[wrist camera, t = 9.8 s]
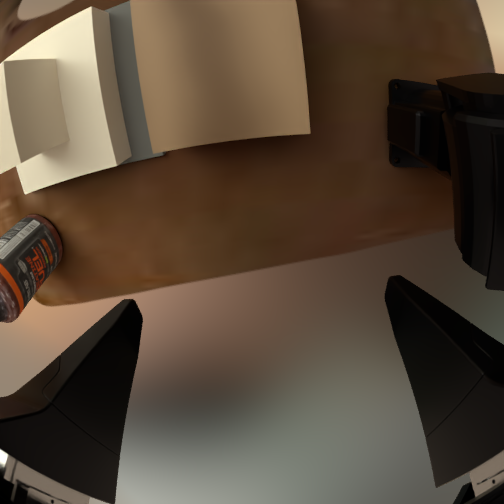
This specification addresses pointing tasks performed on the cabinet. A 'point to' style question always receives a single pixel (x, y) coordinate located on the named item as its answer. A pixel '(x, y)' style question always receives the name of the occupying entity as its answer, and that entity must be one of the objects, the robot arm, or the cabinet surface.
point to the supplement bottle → (26, 263)
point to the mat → (129, 83)
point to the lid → (62, 104)
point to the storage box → (219, 70)
